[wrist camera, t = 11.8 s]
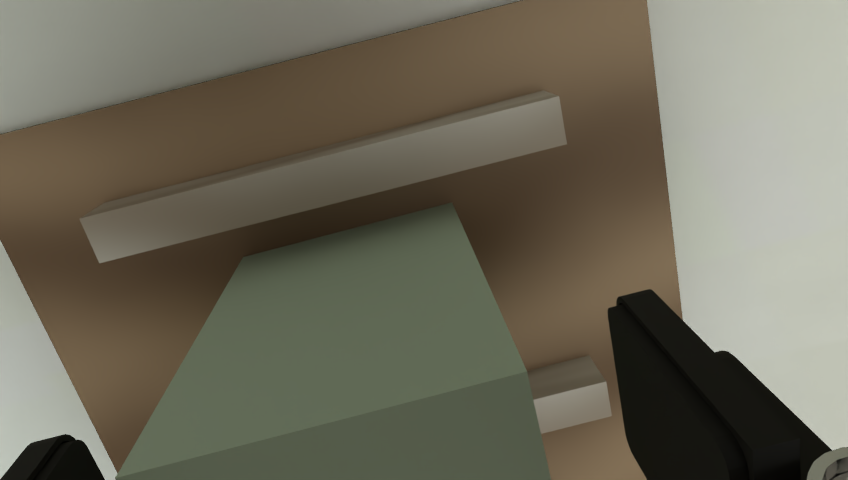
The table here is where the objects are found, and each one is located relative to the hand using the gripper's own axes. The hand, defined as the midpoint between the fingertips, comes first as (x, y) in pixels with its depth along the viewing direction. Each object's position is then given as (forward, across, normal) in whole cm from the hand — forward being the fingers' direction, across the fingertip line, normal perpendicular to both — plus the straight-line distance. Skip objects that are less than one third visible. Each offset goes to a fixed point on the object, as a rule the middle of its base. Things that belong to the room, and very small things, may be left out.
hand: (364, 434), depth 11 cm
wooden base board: (+8, 0, +5) cm, 10 cm away
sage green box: (+7, 0, +1) cm, 7 cm away
